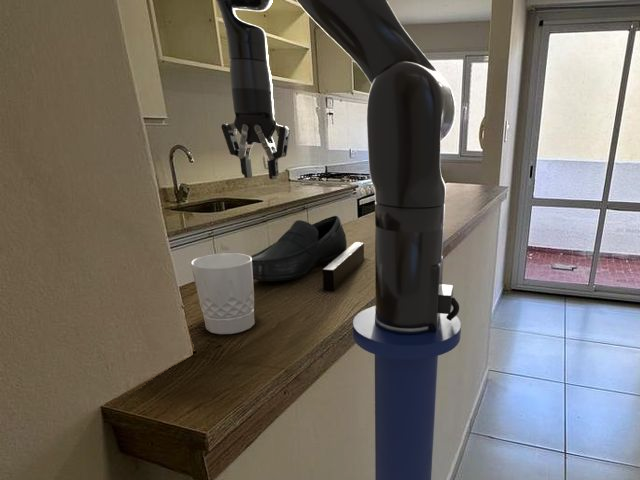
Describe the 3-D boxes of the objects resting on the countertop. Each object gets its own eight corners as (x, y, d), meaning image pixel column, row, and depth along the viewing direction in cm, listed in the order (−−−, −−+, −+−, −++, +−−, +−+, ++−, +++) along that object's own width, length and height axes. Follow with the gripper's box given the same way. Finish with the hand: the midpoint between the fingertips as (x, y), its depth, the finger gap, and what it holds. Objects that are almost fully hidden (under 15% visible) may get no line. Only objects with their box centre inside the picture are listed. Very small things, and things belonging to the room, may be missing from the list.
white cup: (263, 314, 70) (256, 252, 67) (253, 335, 63) (245, 267, 59) (210, 315, 69) (200, 253, 65) (194, 337, 62) (182, 268, 58)
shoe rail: (364, 259, 102) (363, 242, 100) (334, 291, 82) (333, 270, 80) (355, 259, 102) (355, 242, 100) (323, 290, 82) (322, 269, 80)
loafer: (231, 287, 82) (223, 231, 78) (314, 251, 107) (311, 208, 103) (279, 295, 79) (274, 238, 75) (353, 256, 104) (352, 212, 100)
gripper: (206, 85, 85) (219, 178, 91) (278, 87, 83) (286, 181, 90) (227, 88, 92) (237, 175, 98) (294, 90, 90) (300, 178, 96)
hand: (260, 177), depth 94 cm, fingers open, 5 cm apart
